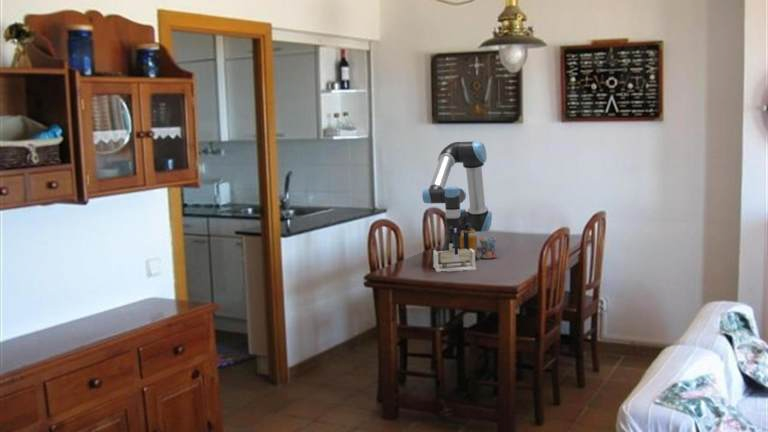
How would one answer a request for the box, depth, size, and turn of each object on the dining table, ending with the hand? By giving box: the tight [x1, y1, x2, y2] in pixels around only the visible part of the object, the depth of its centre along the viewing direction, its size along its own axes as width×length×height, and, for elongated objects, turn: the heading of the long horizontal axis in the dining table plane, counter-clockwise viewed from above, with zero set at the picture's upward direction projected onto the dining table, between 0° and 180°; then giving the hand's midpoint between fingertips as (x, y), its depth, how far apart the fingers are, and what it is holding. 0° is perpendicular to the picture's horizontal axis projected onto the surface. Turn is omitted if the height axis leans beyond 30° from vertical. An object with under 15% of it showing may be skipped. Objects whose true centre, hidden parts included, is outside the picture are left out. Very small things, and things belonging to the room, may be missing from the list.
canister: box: [460, 223, 478, 262], centre depth 429 cm, size 9×11×20 cm
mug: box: [479, 237, 497, 260], centre depth 434 cm, size 12×9×11 cm
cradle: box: [432, 249, 477, 273], centre depth 408 cm, size 14×20×9 cm
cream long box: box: [437, 249, 471, 264], centre depth 408 cm, size 6×16×5 cm, turn 106°
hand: (454, 258), depth 408 cm, fingers open, 13 cm apart
